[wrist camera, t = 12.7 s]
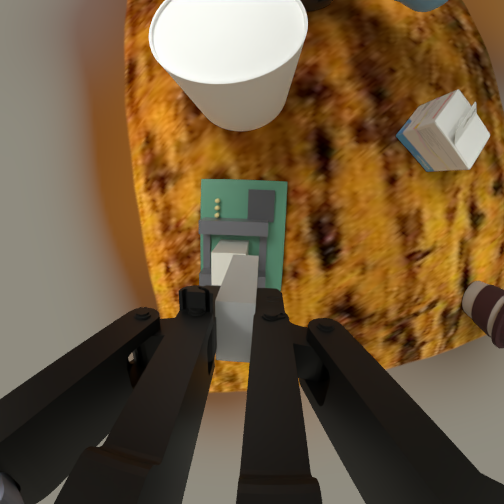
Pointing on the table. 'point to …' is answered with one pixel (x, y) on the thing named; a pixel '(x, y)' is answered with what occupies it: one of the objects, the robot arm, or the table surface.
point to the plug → (225, 257)
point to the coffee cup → (486, 309)
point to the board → (240, 210)
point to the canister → (231, 55)
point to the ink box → (445, 133)
